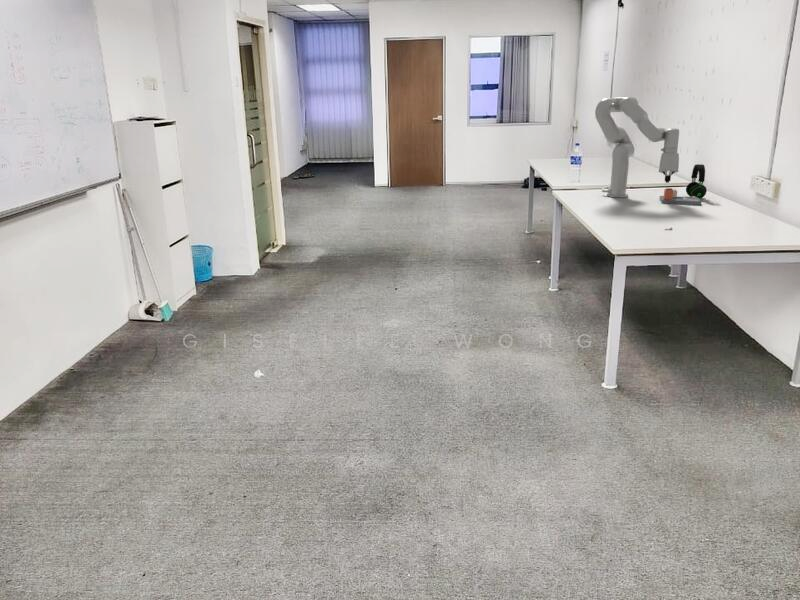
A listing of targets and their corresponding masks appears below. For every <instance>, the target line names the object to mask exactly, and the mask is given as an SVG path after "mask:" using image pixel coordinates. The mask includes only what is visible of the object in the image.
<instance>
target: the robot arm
mask: <svg viewBox="0 0 800 600" xmlns="http://www.w3.org/2000/svg"><path fill="white" fill-rule="evenodd" d="M638 101H639V100H638V99H637V98H635V97H634V96H627V97H606V98H603V99H601V100H599V102H598V103H597V105H596V107H595V110H594V115H595V119H596V122H597V123H598V125H599V127H600V129H601V132H602V134H603V135H604V137H605V139H606V141H607V142H608V144H611V145H612V144H613V145H614V148H613V150H612V154H611V155H612V156H611V157H612V158H611V159H612V163H611V164H612V165H611V176H610V184H609V185H610V186H609V188H601V192H602V193H606V196H607V197H609V196H610V197H611V198H628V196H629V194H628V193H627V187H628V186H627V185H628V176H629V165H630V161H629V160H630V159H629V158H631V157H632V156H633V155H634V154H635V146H634V144H633V142H632V140H631V138H630V136H629V134H628V133H627V131H626V129H624V128H622V127H620V126H618V125H617V123H616V122H615V120H614V118H613V116H611V113H624V115H626V116H627V117H628V118H629V120H631V121H632V122H633V123H634V124H635V126H636V127H637V129H638V130H639V131H640V132H641V134H642V135H643V136H645V138H647V139H648V141H650V142H651V143H652V142H653V143H658V142H663V141H664V142H663V148H660V152H662V153H661V156H660V160H659V167H658V168H659V169H658V173H662V174H663V175H664V182H665V183H666V184H668V183H670V182H671V178H672V177H671V176H673V174H676V173H679V164H680V155H679V152H678V147H679V139H680V138H679V137H680V129H679V128H663V127H659V128H657V126H655V125H654V124H653V123H652V122H651V119H649V116H648V113H647V111H645V110H644V108H642V107H641V106H640V105H639V102H638ZM668 172H669V174H668Z"/></svg>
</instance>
